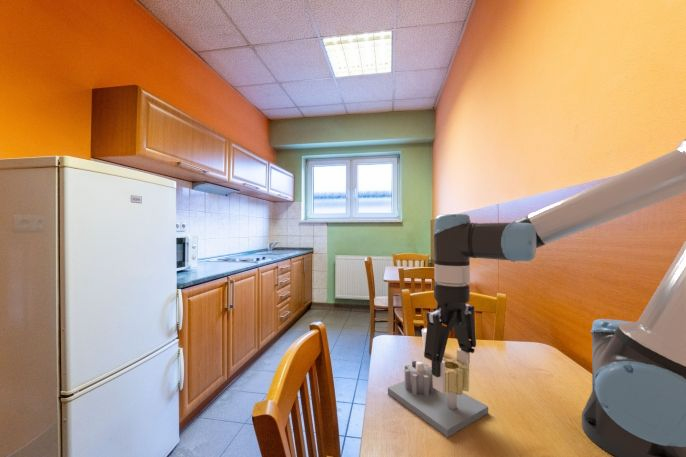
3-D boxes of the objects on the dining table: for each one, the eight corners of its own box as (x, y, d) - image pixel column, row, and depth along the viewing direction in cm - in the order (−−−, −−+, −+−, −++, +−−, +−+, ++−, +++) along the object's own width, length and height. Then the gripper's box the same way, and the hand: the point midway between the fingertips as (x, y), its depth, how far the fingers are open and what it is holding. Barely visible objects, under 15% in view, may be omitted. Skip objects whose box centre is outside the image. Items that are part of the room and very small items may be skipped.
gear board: (488, 413, 64) (488, 379, 64) (447, 437, 57) (447, 399, 57) (426, 377, 80) (426, 351, 80) (387, 393, 72) (387, 363, 72)
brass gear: (475, 388, 63) (476, 367, 63) (453, 398, 59) (454, 377, 59) (447, 372, 70) (447, 354, 70) (425, 381, 66) (425, 362, 66)
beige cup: (417, 351, 97) (417, 330, 97) (428, 345, 102) (428, 325, 102) (436, 357, 92) (435, 336, 92) (446, 351, 97) (446, 330, 97)
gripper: (464, 276, 73) (464, 365, 73) (406, 284, 62) (406, 389, 62) (493, 281, 67) (493, 379, 67) (433, 291, 56) (433, 408, 56)
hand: (451, 384), depth 64 cm, fingers closed on brass gear, 8 cm apart
